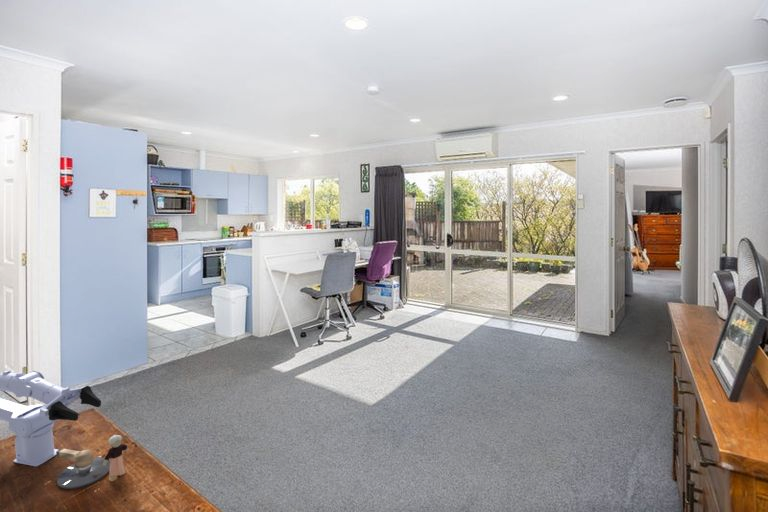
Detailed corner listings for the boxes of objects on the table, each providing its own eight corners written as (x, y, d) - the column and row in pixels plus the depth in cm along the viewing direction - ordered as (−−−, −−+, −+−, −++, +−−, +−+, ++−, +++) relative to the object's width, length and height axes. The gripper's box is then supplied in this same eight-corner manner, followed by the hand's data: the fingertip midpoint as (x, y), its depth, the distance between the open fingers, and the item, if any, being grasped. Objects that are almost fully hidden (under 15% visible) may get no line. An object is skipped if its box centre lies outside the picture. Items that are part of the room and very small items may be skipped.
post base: (45, 484, 117) (44, 474, 116) (87, 457, 129) (86, 447, 129) (82, 492, 114) (81, 481, 113) (121, 463, 126) (120, 453, 126)
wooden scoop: (52, 463, 121) (51, 454, 121) (67, 454, 125) (66, 445, 125) (83, 469, 119) (82, 459, 118) (96, 460, 123) (96, 450, 122)
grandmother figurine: (113, 484, 117) (109, 443, 116) (101, 482, 118) (98, 441, 116) (134, 467, 125) (131, 428, 123) (123, 466, 125) (120, 427, 124)
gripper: (28, 394, 117) (67, 411, 115) (75, 372, 131) (110, 387, 129) (26, 415, 119) (64, 432, 117) (72, 391, 133) (108, 406, 131)
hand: (88, 410), depth 123 cm, fingers open, 7 cm apart
